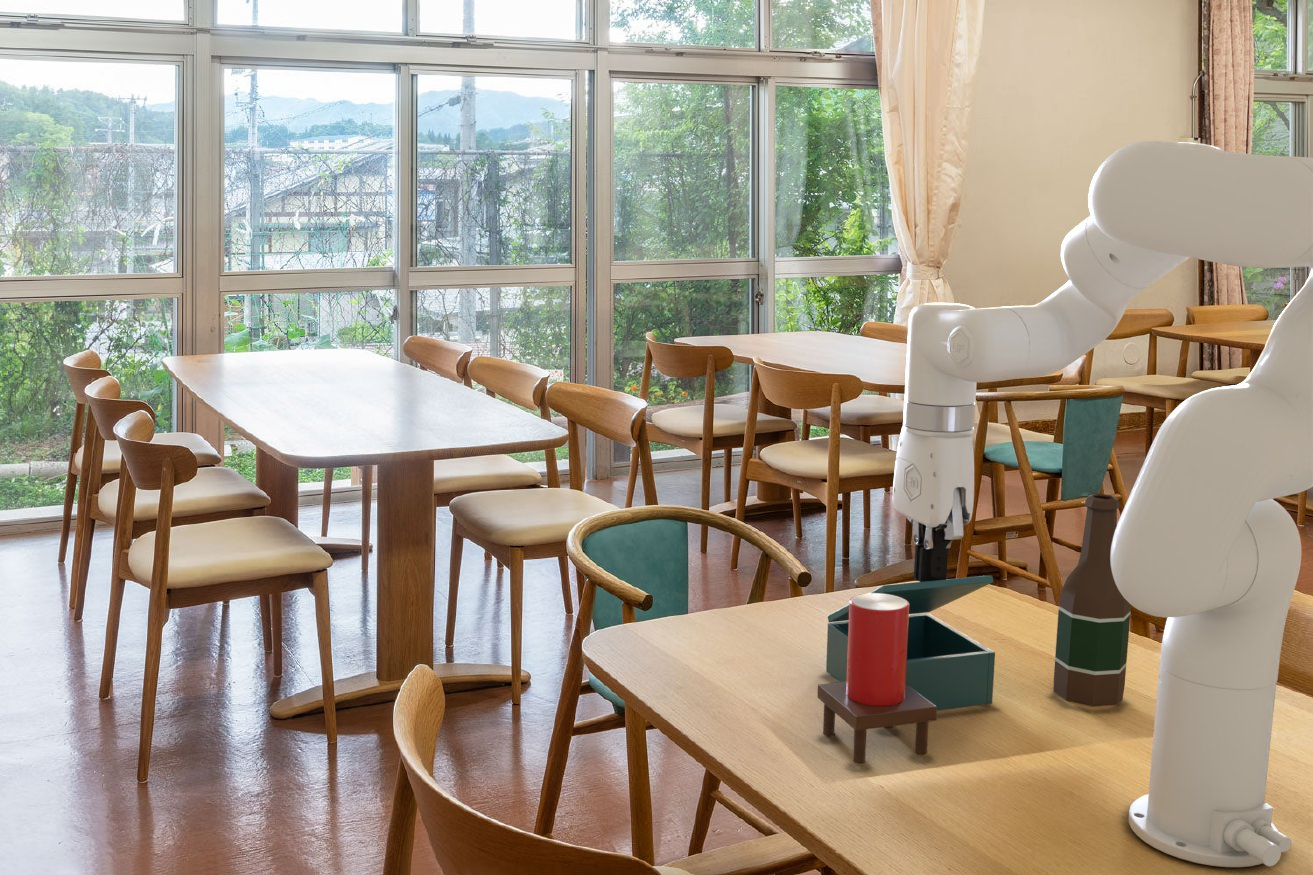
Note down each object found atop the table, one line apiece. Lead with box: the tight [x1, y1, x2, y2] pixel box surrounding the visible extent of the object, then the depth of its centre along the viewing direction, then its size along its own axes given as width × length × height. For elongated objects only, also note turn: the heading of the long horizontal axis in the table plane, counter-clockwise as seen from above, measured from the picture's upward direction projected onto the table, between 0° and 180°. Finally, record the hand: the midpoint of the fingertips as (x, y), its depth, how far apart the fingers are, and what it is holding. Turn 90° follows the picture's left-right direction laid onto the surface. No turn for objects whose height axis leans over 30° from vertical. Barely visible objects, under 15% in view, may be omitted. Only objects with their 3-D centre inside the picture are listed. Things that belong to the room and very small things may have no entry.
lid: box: [827, 575, 994, 623], centre depth 146 cm, size 15×14×1 cm
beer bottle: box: [1053, 493, 1132, 707], centre depth 144 cm, size 8×8×24 cm
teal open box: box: [825, 612, 996, 712], centre depth 147 cm, size 15×14×7 cm
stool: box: [816, 681, 938, 765], centre depth 131 cm, size 9×9×6 cm
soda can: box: [846, 592, 910, 706], centre depth 130 cm, size 6×6×10 cm
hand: (929, 580), depth 141 cm, fingers closed
